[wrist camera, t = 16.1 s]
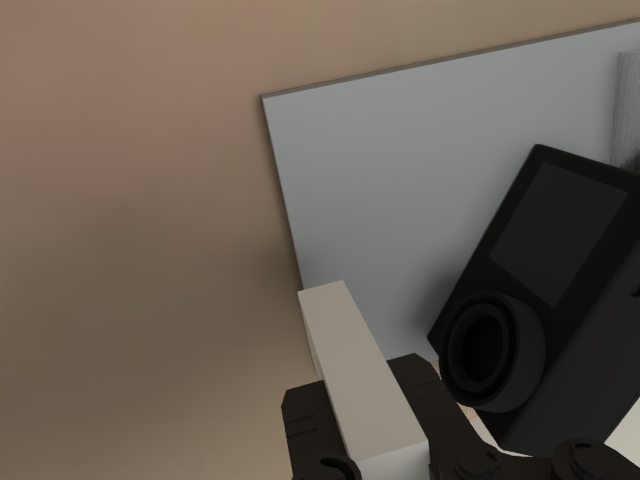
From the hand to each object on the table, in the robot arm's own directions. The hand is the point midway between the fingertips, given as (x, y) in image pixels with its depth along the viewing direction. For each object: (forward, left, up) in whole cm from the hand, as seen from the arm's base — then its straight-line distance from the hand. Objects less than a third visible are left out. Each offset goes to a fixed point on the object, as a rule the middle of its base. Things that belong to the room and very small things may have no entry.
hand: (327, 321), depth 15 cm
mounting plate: (+9, 0, -7) cm, 11 cm away
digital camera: (+9, -2, -5) cm, 11 cm away
